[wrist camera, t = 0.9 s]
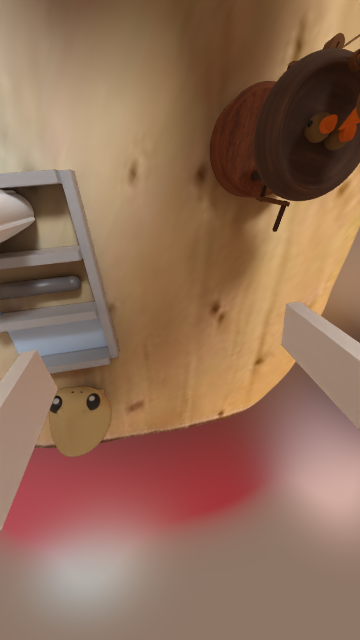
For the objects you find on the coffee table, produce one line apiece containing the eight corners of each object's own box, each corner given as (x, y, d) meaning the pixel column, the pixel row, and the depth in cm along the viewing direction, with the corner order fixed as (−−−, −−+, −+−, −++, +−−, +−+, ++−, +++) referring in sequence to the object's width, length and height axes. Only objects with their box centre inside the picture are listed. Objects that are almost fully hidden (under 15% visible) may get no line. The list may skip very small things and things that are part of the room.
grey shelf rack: (-75, 182, 26) (-106, 181, 22) (74, 170, 27) (65, 168, 24) (22, 365, 39) (11, 382, 35) (119, 350, 40) (117, 365, 37)
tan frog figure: (113, 366, 42) (106, 416, 32) (113, 413, 47) (107, 467, 38) (53, 365, 40) (27, 419, 30) (60, 415, 45) (40, 472, 36)
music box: (212, 63, 25) (429, -211, 8) (301, 82, 27) (608, -93, 10) (198, 220, 32) (294, 256, 15) (269, 223, 35) (420, 256, 18)
